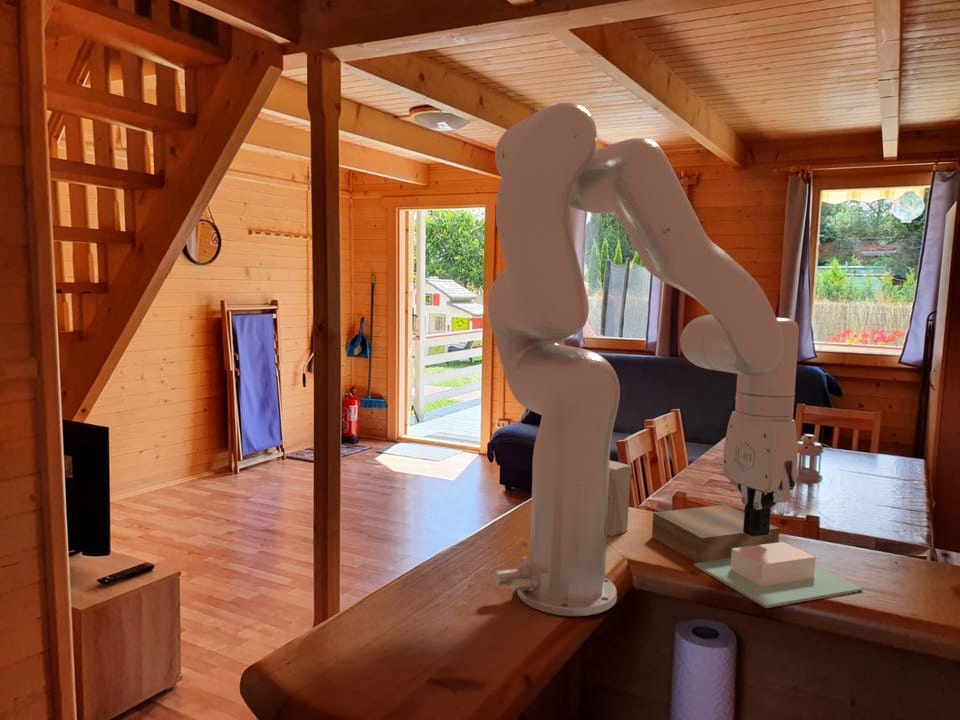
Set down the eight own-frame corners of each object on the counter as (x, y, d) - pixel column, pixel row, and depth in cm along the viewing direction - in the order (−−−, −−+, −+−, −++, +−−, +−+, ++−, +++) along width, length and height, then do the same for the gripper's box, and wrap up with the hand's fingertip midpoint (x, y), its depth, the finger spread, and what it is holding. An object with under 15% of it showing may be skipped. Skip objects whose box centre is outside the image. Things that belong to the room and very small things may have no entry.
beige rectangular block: (731, 548, 98) (730, 569, 98) (762, 564, 93) (761, 586, 93) (782, 541, 101) (781, 561, 101) (815, 556, 96) (814, 578, 96)
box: (587, 528, 115) (589, 462, 114) (603, 523, 118) (605, 458, 117) (613, 537, 111) (616, 468, 110) (629, 531, 114) (632, 464, 113)
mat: (766, 608, 87) (766, 605, 87) (694, 566, 100) (694, 563, 100) (862, 591, 93) (862, 588, 93) (782, 553, 106) (783, 550, 106)
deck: (700, 565, 101) (701, 538, 100) (652, 537, 112) (653, 512, 112) (777, 554, 106) (779, 528, 105) (723, 528, 117) (725, 504, 116)
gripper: (707, 398, 104) (700, 519, 106) (783, 416, 90) (774, 555, 92) (748, 397, 106) (740, 515, 108) (828, 414, 92) (818, 549, 94)
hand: (756, 533), depth 100 cm, fingers closed
